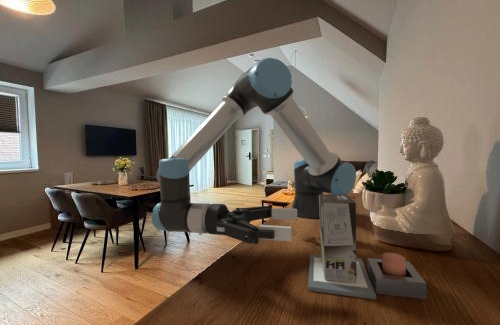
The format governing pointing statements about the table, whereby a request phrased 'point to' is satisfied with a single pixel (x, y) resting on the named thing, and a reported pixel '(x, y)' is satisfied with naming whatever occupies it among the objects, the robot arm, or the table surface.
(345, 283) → the drawing board
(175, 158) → the robot arm
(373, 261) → the button housing
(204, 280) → the table surface
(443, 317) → the table surface
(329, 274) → the coffee box
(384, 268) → the button
